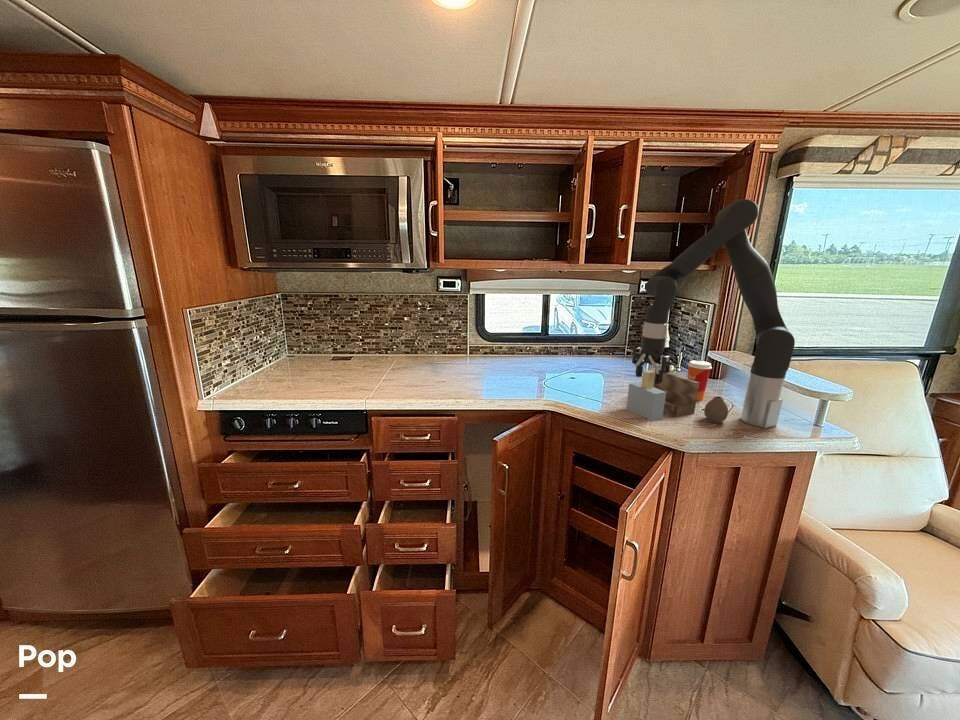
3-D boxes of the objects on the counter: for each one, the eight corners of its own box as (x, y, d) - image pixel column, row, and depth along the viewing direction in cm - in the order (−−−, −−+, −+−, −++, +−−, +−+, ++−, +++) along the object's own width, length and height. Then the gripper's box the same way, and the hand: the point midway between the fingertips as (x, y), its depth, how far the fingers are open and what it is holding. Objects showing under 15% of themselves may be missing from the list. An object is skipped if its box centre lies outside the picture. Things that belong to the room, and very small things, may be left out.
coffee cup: (681, 393, 153) (687, 359, 149) (703, 396, 150) (710, 361, 146) (684, 400, 145) (690, 364, 141) (707, 403, 142) (714, 366, 138)
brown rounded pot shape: (720, 426, 122) (725, 402, 120) (699, 419, 127) (703, 396, 125) (729, 421, 126) (734, 398, 124) (708, 415, 131) (712, 392, 129)
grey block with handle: (662, 418, 128) (668, 375, 124) (651, 420, 126) (657, 377, 122) (636, 406, 139) (641, 366, 135) (626, 408, 137) (631, 367, 133)
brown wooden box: (694, 413, 132) (699, 382, 129) (674, 417, 129) (679, 385, 126) (654, 396, 149) (658, 368, 145) (635, 400, 145) (639, 371, 142)
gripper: (679, 338, 120) (672, 385, 124) (646, 331, 133) (640, 373, 137) (662, 340, 117) (655, 387, 122) (630, 332, 130) (625, 375, 134)
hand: (647, 379), depth 129 cm, fingers open, 8 cm apart
